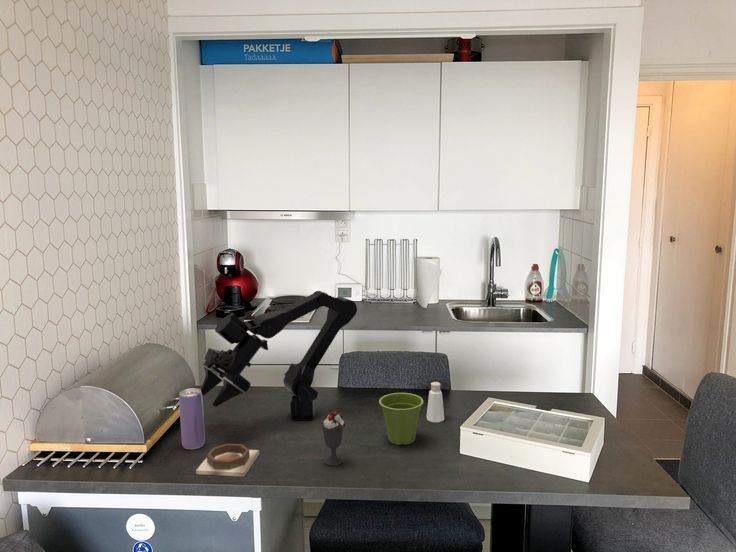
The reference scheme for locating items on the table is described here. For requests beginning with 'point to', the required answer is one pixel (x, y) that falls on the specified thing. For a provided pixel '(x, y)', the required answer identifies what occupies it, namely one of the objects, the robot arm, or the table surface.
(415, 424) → the plant pot
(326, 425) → the sundae
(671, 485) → the table surface
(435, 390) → the salt shaker
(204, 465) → the board
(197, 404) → the beverage can
